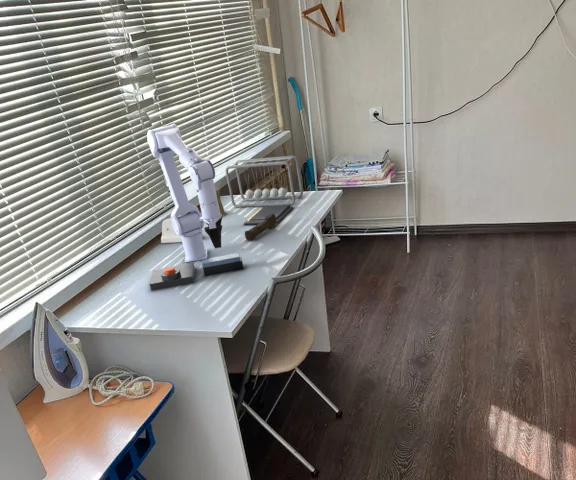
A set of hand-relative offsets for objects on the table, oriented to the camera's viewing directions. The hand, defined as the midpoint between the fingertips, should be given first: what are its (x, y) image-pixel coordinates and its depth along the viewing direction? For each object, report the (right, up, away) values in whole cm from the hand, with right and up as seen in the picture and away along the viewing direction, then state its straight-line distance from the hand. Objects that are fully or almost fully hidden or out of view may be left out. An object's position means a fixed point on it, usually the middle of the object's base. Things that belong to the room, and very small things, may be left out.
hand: (218, 243), depth 196 cm
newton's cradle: (+14, +33, +68) cm, 77 cm away
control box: (-15, -11, +5) cm, 19 cm away
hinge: (-18, +12, +43) cm, 48 cm away
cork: (-7, +27, +64) cm, 70 cm away
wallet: (+15, +23, +50) cm, 57 cm away
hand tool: (+13, +12, +34) cm, 38 cm away
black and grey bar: (+1, -8, +5) cm, 9 cm away
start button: (-16, -10, 0) cm, 18 cm away
